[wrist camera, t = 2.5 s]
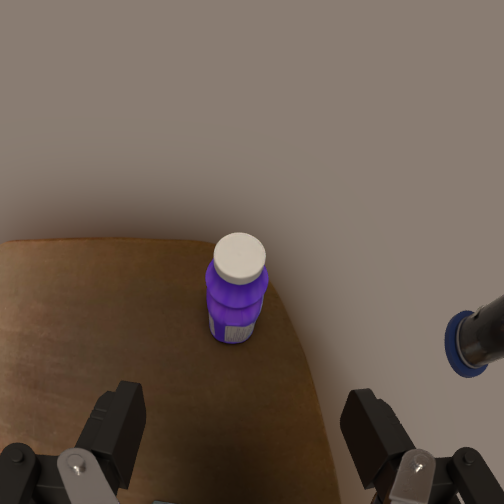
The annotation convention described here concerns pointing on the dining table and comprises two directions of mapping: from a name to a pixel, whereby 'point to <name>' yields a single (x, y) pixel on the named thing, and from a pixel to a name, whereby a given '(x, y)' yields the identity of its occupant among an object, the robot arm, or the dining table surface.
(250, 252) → the bottle
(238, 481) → the dining table surface
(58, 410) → the dining table surface
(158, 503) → the blue-gray open bin
